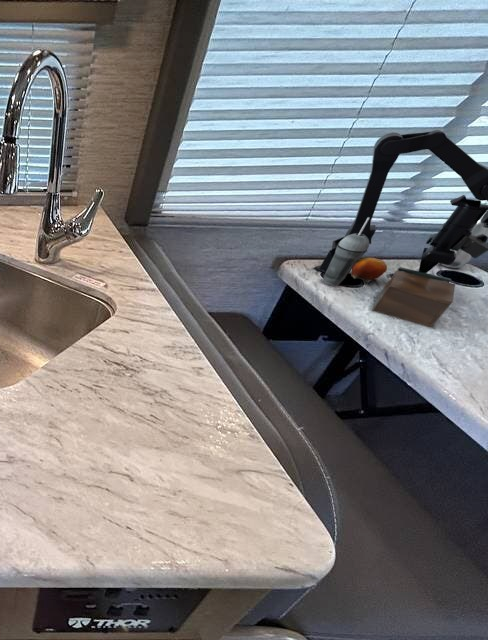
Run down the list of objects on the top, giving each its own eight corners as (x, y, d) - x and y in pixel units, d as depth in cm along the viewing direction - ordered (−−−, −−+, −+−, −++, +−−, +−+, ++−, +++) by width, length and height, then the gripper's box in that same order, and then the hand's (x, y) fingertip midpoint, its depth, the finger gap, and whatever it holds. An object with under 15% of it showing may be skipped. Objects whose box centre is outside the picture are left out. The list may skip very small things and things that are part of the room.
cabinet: (379, 293, 117) (396, 270, 112) (435, 308, 110) (455, 284, 106) (372, 310, 110) (389, 286, 105) (430, 327, 103) (452, 302, 98)
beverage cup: (318, 285, 122) (356, 220, 109) (315, 275, 127) (352, 213, 114) (346, 290, 119) (388, 224, 106) (342, 280, 124) (382, 216, 111)
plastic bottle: (464, 272, 127) (517, 209, 114) (437, 267, 130) (486, 205, 117) (459, 264, 132) (510, 203, 119) (433, 260, 134) (480, 200, 121)
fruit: (346, 277, 123) (361, 252, 121) (342, 281, 129) (357, 258, 127) (378, 284, 118) (394, 259, 116) (373, 289, 125) (388, 264, 123)
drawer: (389, 280, 122) (401, 262, 118) (437, 291, 116) (452, 274, 112) (381, 298, 113) (394, 280, 109) (432, 312, 107) (448, 294, 103)
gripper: (502, 240, 98) (454, 295, 108) (500, 221, 108) (457, 273, 118) (442, 230, 104) (403, 283, 114) (446, 213, 114) (410, 263, 124)
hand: (420, 275), depth 117 cm, fingers closed
